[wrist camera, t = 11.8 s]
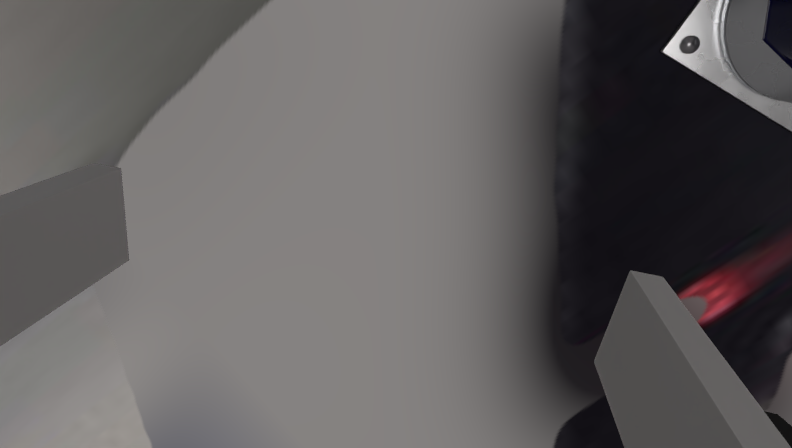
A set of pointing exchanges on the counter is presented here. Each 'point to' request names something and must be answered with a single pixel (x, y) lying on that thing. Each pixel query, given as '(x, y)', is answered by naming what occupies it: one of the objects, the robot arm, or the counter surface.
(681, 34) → the flange plate
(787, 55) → the bottle
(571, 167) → the counter surface
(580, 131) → the counter surface
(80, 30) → the counter surface
